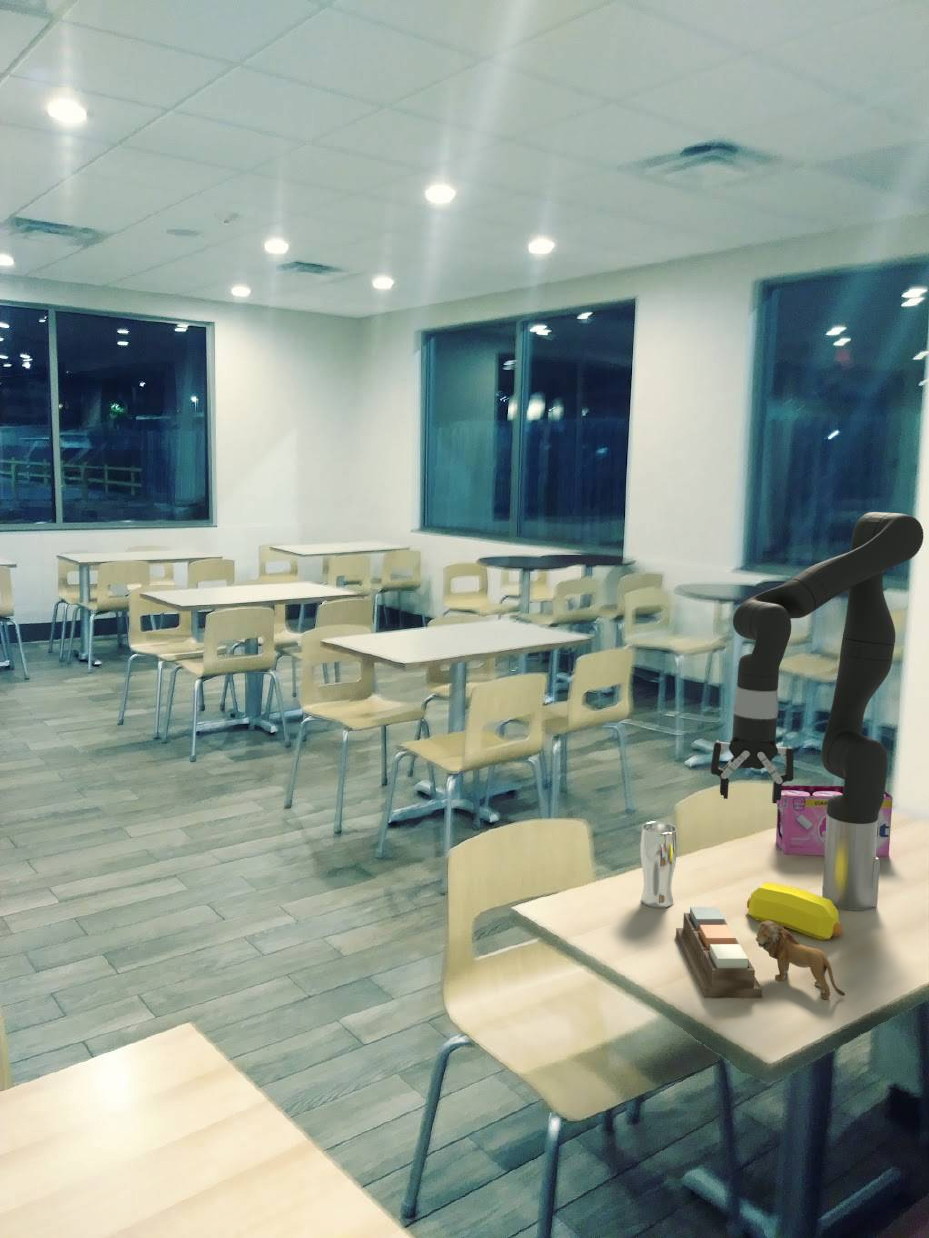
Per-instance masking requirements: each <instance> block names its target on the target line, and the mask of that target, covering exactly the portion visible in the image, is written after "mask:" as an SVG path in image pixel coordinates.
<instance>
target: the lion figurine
mask: <svg viewBox="0 0 929 1238" xmlns="http://www.w3.org/2000/svg"><path fill="white" fill-rule="evenodd" d="M755 940H756V942H757V944H758V945H757V946H758V947H759V948H762V949H764V950H765V951H766V952H767V953H768V956H769V957H770V958H772V959H775V960H776V961H777V968H778V972H779V974H775V975H774V978H775V980H777V981H783V980H784V979H785V977H786V974H788V973H789V969H790V965H791V964H792V965H794V966H795V967H798V968H800V969H801V968H802V969H807V968H809V969H810V973H811V974H812V976H813V977H814V980H816V981H814V985H815V986H817V987H821V988H822V989H823V991H824V992H821V994H820V997H821V998H822V999H823V1000H827V999H829V998H830V996H831V991H830V985H829V984H828V983H827V980H826V972H827V973H828V977H829V979H830V980H829V981H830V983H831V986H832V988H833V989H834V990H835V992H836V993H837V994H838V995H840V996H841V997H845V996H846V993H845V992H844V991H843V990H841V989H839V988H838V987H837V986H836V982H835V978H834V974H833V970H832V966H831V964H830V961H829V958H828V956H827V954H826V953H825V952H824V951H822V950H821V949H819V948H814V947H809V946H806V945H804V944H801V943H799V942H798V941H797V940H796V939H795V937H794V935H793V934H792V933H790V932H789V931H788V930H787V929H785V927H783V926H780V925H779V924H777V923H776V922H772V921H768V920H767V921H764V922H763V921H761V922H758V929H757V934H756V937H755Z"/></svg>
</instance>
